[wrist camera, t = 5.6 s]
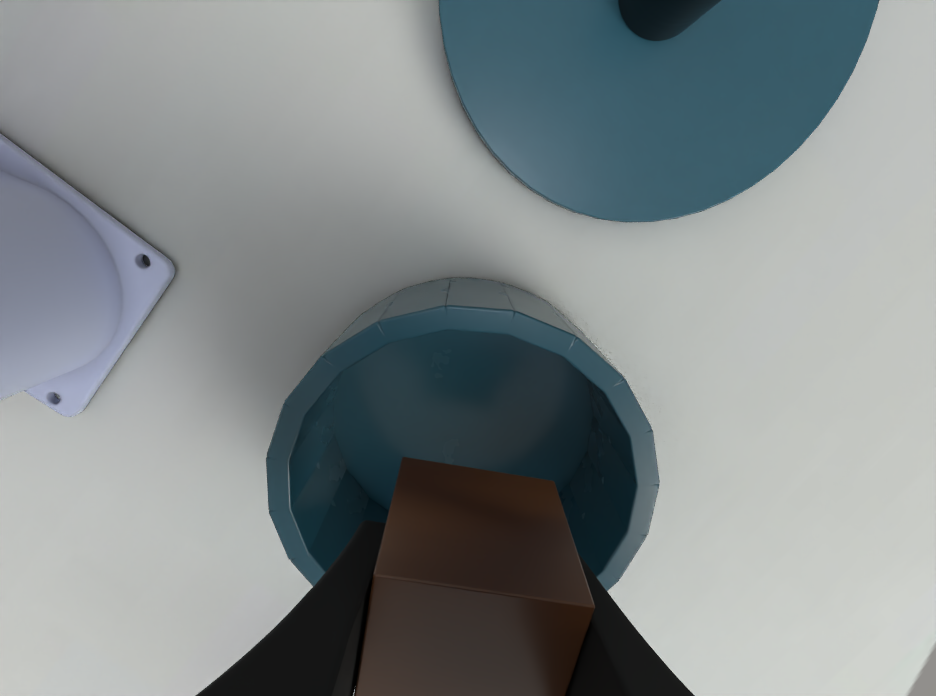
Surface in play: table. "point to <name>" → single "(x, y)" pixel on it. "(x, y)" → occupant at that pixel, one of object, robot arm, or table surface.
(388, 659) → the block
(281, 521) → the pot
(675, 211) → the lid
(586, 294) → the table surface
